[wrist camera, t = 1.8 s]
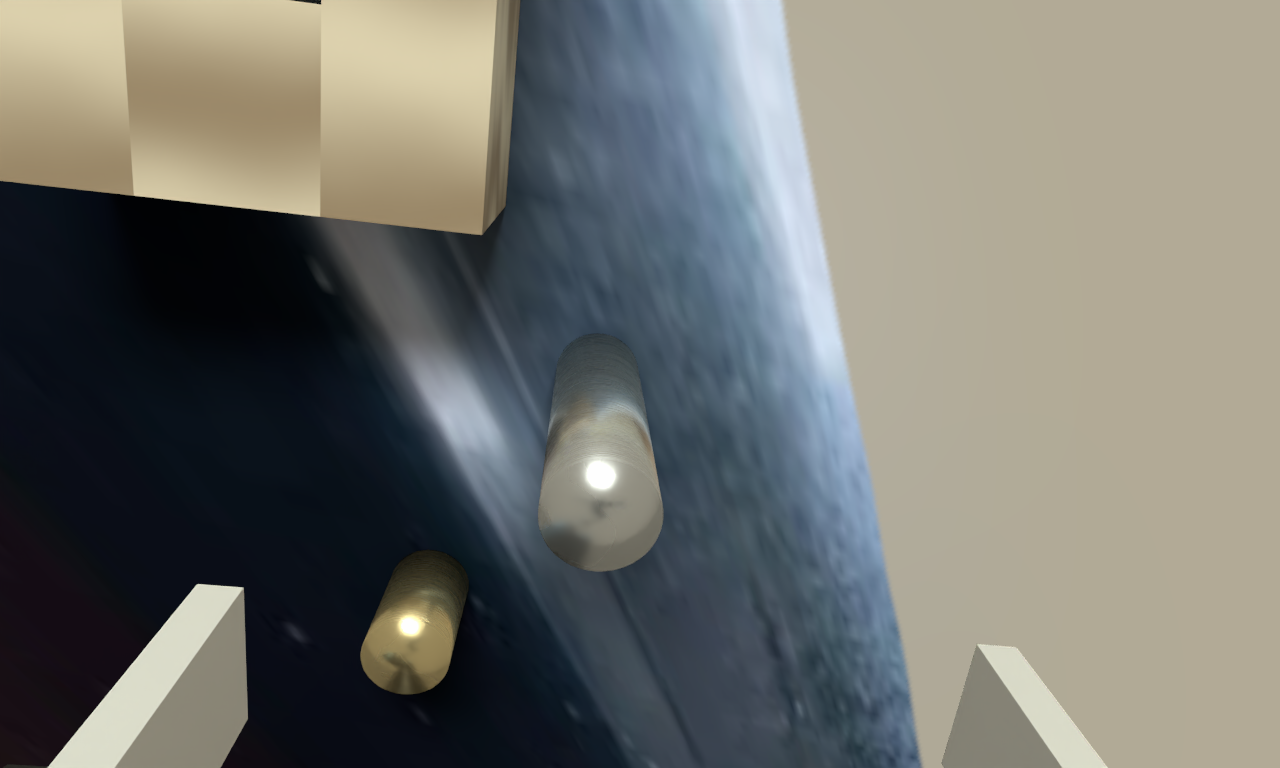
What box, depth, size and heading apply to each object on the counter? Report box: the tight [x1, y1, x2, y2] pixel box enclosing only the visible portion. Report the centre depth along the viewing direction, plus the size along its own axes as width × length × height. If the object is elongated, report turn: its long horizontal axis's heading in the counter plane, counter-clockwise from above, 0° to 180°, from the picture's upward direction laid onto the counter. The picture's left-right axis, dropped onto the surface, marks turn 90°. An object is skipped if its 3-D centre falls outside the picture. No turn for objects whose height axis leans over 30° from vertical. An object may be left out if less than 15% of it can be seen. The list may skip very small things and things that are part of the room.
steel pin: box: [538, 334, 663, 571], centre depth 27 cm, size 3×3×12 cm
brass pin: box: [361, 550, 469, 694], centre depth 33 cm, size 3×3×5 cm
